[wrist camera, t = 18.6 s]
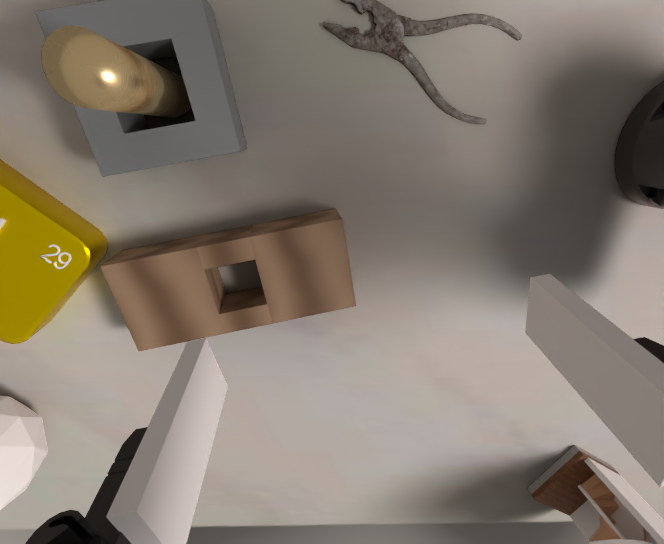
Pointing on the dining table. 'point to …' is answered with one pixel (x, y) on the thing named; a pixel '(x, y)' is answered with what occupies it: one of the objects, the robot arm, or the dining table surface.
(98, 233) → the element tile
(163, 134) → the seat block
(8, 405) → the geodesic sphere
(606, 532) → the spiral staircase model
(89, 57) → the golden rounded rod
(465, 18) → the pliers
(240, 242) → the beam
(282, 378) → the dining table surface
